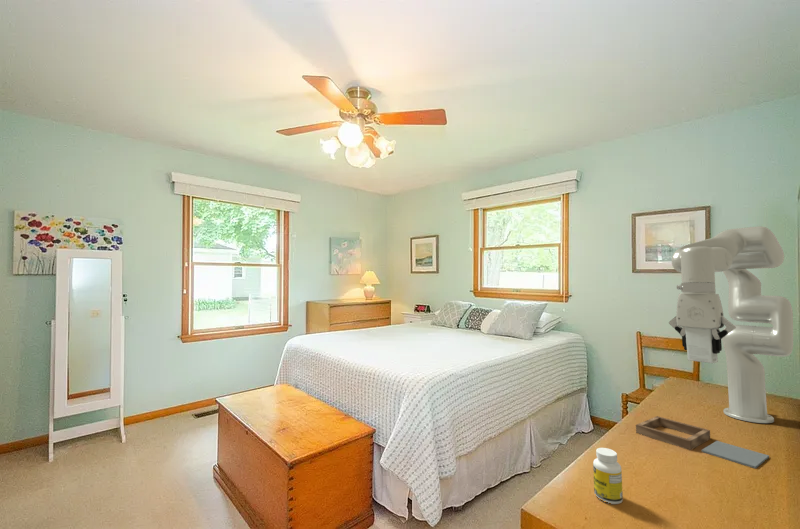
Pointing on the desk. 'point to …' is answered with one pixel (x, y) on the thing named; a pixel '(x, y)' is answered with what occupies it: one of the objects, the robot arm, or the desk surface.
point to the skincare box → (700, 345)
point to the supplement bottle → (607, 476)
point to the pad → (736, 454)
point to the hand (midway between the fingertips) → (701, 350)
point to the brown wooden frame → (689, 443)
